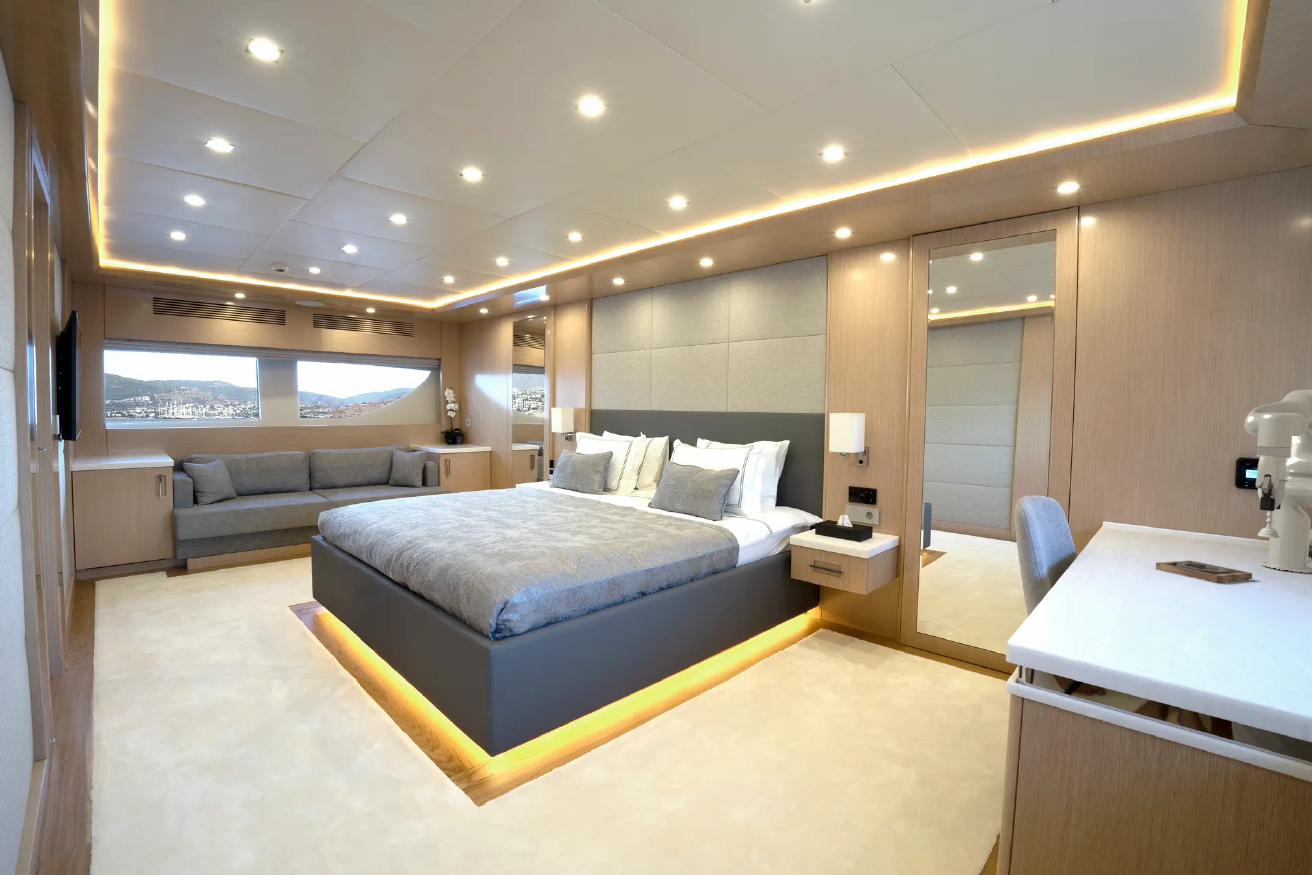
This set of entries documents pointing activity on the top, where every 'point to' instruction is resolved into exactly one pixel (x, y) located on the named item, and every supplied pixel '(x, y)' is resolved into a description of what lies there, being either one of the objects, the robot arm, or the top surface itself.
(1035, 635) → the top surface
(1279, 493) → the chalice
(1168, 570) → the holder tray
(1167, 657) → the top surface
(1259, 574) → the top surface
